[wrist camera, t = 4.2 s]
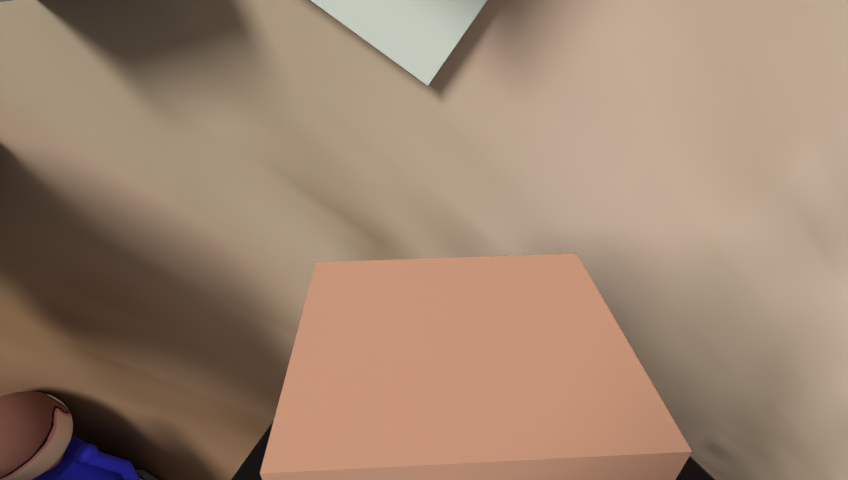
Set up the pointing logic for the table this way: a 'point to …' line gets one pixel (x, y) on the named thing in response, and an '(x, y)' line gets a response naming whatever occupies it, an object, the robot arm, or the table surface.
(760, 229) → the table surface
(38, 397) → the figurine character
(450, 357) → the terracotta brick
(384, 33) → the baseplate
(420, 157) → the table surface
